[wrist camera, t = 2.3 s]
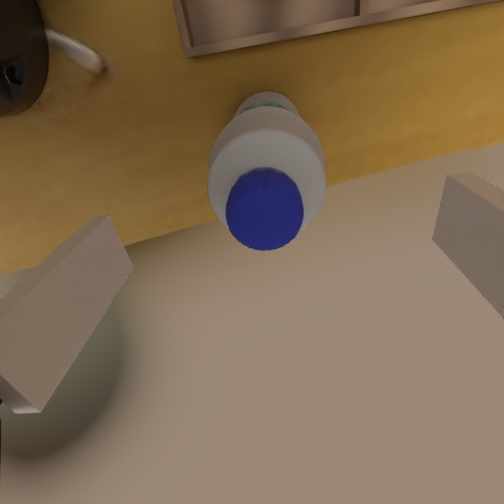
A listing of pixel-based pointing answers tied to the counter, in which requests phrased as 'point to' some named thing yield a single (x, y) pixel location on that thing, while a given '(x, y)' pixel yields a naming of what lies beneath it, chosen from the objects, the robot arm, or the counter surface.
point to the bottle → (266, 173)
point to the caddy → (288, 19)
